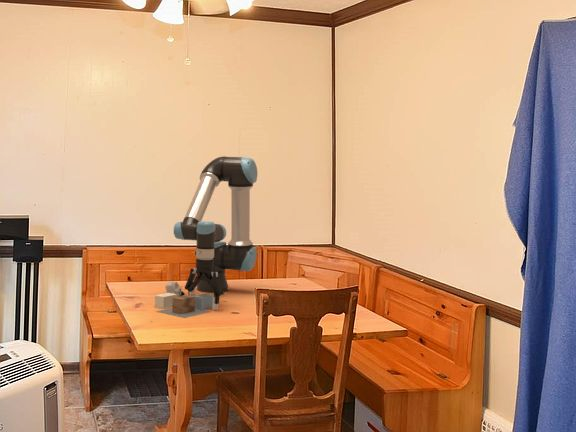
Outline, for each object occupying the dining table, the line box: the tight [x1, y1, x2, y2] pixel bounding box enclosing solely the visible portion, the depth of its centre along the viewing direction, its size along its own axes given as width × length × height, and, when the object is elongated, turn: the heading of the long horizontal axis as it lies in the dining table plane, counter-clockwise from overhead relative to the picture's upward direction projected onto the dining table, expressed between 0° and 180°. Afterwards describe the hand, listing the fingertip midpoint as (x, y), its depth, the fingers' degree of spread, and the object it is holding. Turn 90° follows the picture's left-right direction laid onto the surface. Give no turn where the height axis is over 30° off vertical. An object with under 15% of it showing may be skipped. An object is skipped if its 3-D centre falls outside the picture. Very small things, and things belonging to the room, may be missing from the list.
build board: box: [154, 307, 212, 319], centre depth 283 cm, size 16×16×1 cm
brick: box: [154, 292, 177, 310], centre depth 291 cm, size 8×5×6 cm, turn 146°
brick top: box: [195, 293, 214, 310], centre depth 293 cm, size 8×5×6 cm, turn 145°
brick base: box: [171, 294, 196, 314], centre depth 283 cm, size 8×5×6 cm, turn 145°
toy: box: [164, 280, 186, 297], centre depth 304 cm, size 6×12×15 cm
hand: (203, 309), depth 293 cm, fingers open, 12 cm apart
